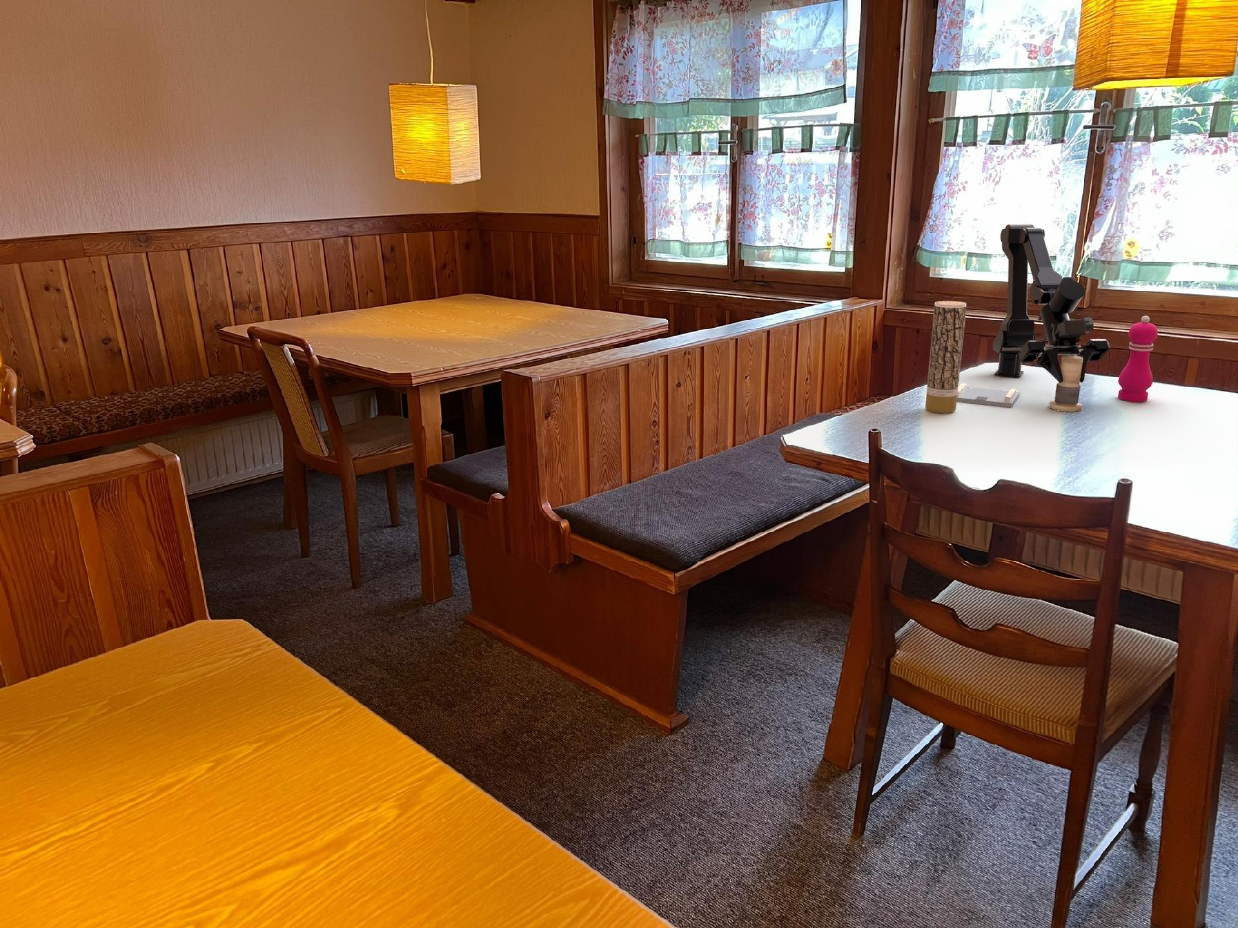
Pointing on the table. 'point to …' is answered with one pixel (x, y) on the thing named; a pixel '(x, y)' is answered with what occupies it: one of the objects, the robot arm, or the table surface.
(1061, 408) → the bobbin
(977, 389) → the board
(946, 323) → the wooden log
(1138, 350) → the pepper mill
